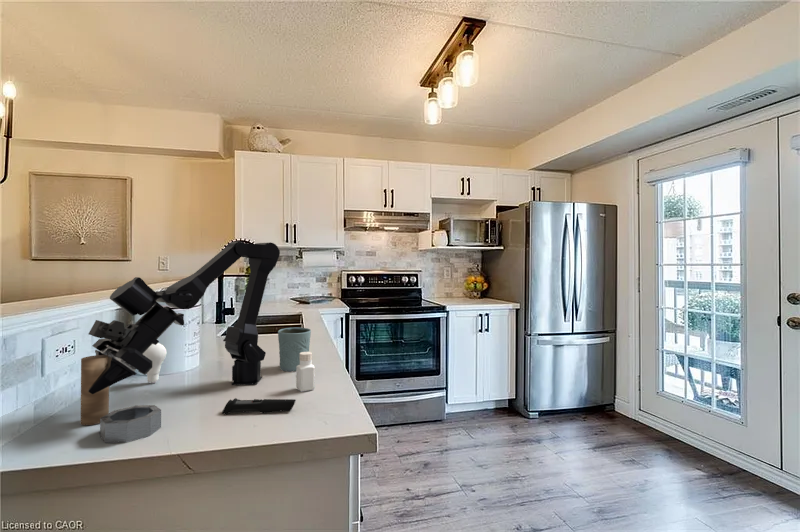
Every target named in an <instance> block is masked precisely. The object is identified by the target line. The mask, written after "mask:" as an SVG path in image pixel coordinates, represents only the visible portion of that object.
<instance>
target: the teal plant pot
mask: <svg viewBox="0 0 800 532" xmlns="http://www.w3.org/2000/svg"><path fill="white" fill-rule="evenodd" d="M311 333H312V330H311V329H310V328H306V327H285V328H281V329H279V330H278V331H277V335H278V336H277V338H278V339H277V340H278V349H279V350H278V351H279V369H280V370H281V371H282V370H283V371H284V372H291V371H293V372H296V367H297V366H298V365H300V361H299V360H300V353H301V352H310V346H311V345H310V343H311Z"/></svg>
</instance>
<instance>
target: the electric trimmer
mask: <svg viewBox="0 0 800 532" xmlns="http://www.w3.org/2000/svg"><path fill="white" fill-rule="evenodd" d="M296 400H297V399H293V398H291V399H288V398H287V399H283V398H282V399H280V398H279V399H275V398H274V399H273V398H272V399H271V398H269V399H268V398H263V399H259V398H258V399H257V398H254V399H238V398H236V397H235V398H233V399H231V398H230V399H229V400H228V401H227V402H226V404H225V406H224V407H223V410H222V412H221V414H222V415H225V414H226V415H229V414H230V413H232V414H234V413H235V414H239V413H262V414H269V413H270V414H271V413H277V412H288V411H291V410H292V409H293V408H294V405H295V403H296Z"/></svg>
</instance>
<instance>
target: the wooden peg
mask: <svg viewBox="0 0 800 532" xmlns="http://www.w3.org/2000/svg"><path fill="white" fill-rule="evenodd" d="M107 365H108V355H96V354H95V355H89V356H85V357H82V358H80V425H81V426H93V425H98V424H99V425H100V418H102V417H103V416H105V415H107V414H109V413H110V386H109V387H107V388H105V389H103V390H101V391H99V392H97V393H95V394H91V393H89V392H88V390H89V389H90V388H91V386H92V385H93V384H94V382H95V381H96V380H97V379H98V377H99V376H100V375H101V374H102V372H103V371H104V370H105V369H106V367H107Z"/></svg>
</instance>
